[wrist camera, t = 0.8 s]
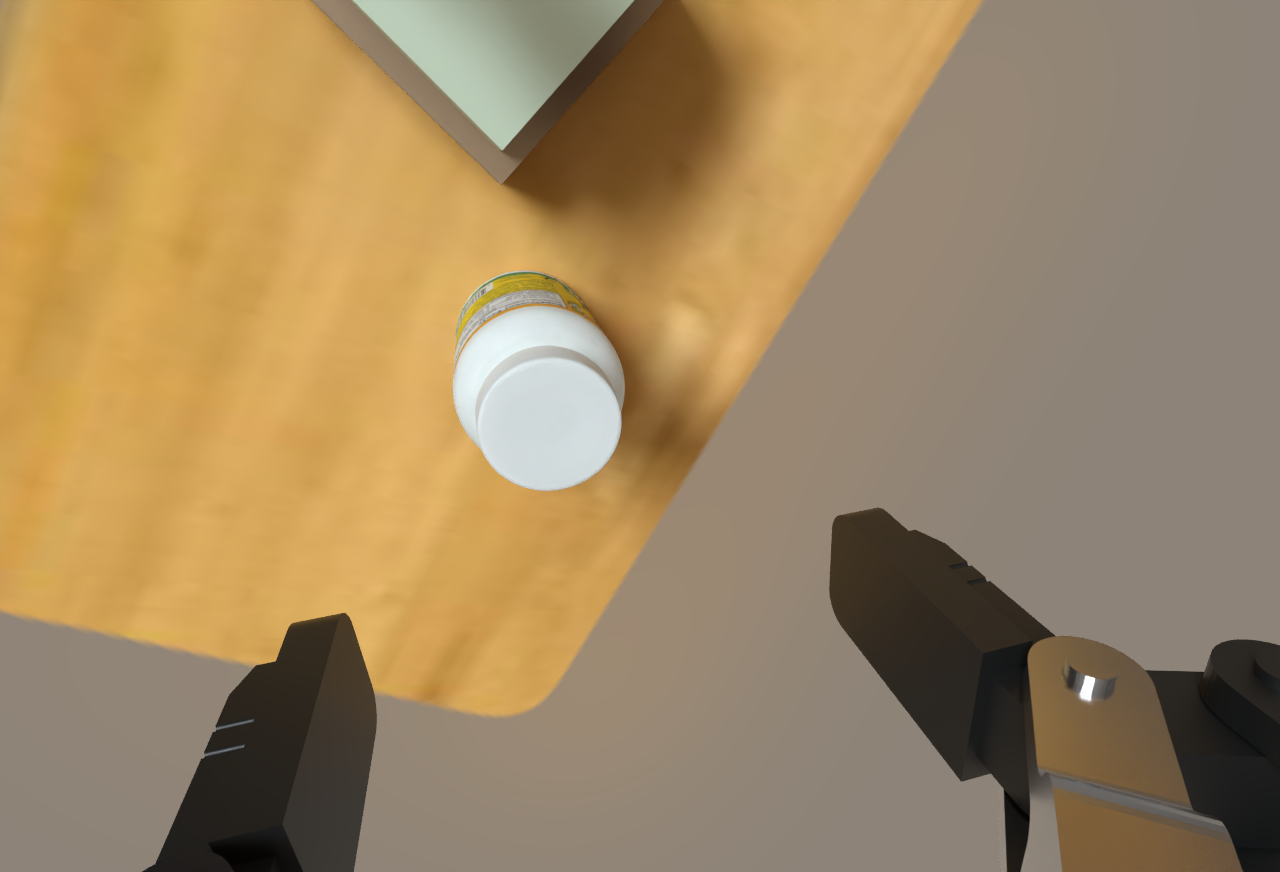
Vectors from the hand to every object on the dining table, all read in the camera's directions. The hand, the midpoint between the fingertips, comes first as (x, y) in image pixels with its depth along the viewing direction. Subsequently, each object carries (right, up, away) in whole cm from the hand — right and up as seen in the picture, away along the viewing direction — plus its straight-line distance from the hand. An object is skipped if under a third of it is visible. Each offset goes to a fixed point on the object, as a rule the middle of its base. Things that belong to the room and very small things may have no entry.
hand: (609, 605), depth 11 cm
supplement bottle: (-4, +7, +16) cm, 18 cm away
